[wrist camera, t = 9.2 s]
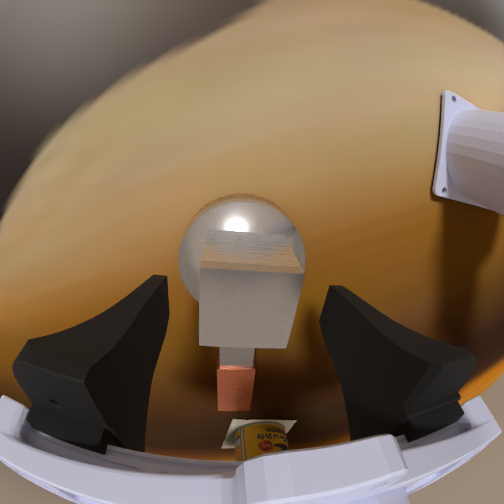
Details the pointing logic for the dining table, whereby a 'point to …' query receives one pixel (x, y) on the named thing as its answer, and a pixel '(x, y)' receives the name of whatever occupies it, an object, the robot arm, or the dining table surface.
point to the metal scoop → (210, 217)
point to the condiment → (257, 437)
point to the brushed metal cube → (247, 290)
